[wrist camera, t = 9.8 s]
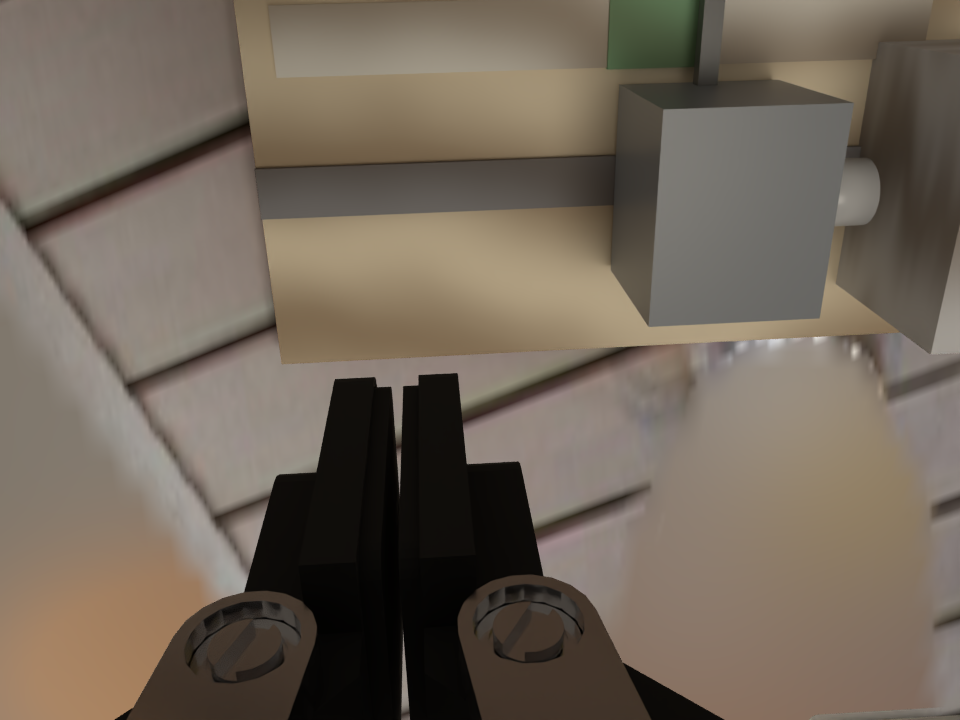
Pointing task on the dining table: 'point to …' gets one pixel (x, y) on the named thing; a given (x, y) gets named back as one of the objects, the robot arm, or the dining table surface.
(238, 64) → the dining table surface
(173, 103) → the dining table surface
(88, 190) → the dining table surface
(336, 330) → the track board
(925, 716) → the holder
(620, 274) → the block
